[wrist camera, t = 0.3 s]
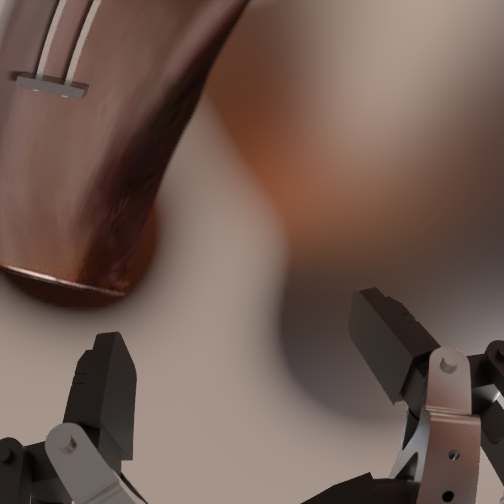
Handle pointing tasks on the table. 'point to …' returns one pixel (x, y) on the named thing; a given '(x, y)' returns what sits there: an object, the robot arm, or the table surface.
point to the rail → (69, 86)
